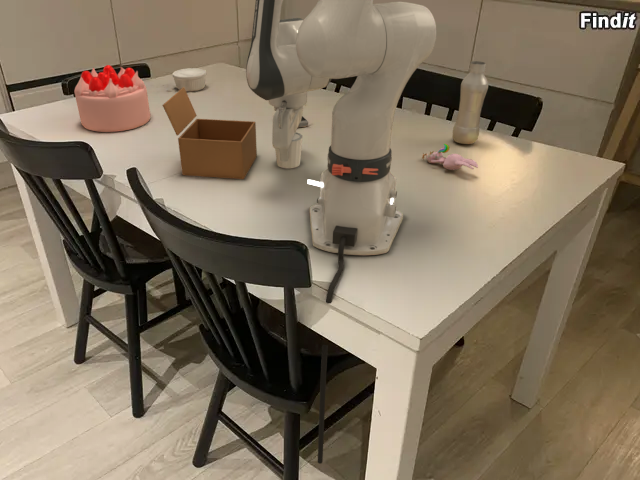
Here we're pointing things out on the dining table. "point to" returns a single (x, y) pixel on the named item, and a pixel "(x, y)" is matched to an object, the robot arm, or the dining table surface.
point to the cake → (112, 100)
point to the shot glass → (291, 153)
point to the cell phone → (303, 122)
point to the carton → (218, 148)
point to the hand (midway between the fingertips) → (287, 152)
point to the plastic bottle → (471, 104)
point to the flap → (179, 111)
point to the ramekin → (190, 79)
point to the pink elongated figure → (449, 159)
